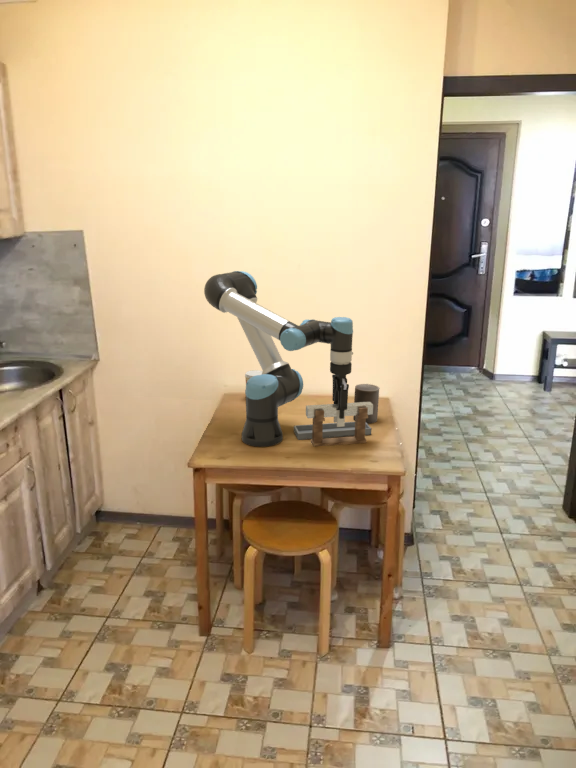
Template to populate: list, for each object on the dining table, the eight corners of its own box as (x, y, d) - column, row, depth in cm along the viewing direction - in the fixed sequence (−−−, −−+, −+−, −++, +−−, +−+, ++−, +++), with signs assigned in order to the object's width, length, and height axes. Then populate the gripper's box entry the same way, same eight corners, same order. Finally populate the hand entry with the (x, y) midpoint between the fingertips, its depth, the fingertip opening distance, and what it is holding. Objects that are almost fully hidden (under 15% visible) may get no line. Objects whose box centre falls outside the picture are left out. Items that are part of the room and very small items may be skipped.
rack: (313, 447, 220) (314, 411, 215) (309, 440, 226) (310, 405, 222) (367, 443, 223) (369, 408, 219) (362, 437, 229) (363, 402, 225)
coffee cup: (244, 396, 275) (243, 370, 271) (264, 395, 276) (264, 369, 273) (246, 403, 266) (246, 376, 262) (268, 401, 267) (267, 375, 264)
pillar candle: (355, 423, 242) (356, 387, 238) (351, 415, 252) (353, 380, 247) (379, 424, 243) (381, 388, 238) (375, 415, 252) (377, 380, 247)
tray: (298, 439, 227) (298, 433, 226) (293, 431, 234) (293, 425, 233) (371, 434, 232) (371, 428, 231) (364, 426, 239) (364, 420, 238)
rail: (307, 418, 217) (308, 408, 216) (305, 414, 221) (305, 405, 220) (372, 414, 222) (373, 404, 221) (369, 411, 225) (370, 401, 224)
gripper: (358, 367, 208) (355, 431, 215) (344, 355, 224) (342, 415, 231) (336, 368, 207) (334, 433, 214) (324, 356, 222) (323, 416, 229)
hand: (339, 423), depth 222 cm, fingers closed on rail, 4 cm apart
